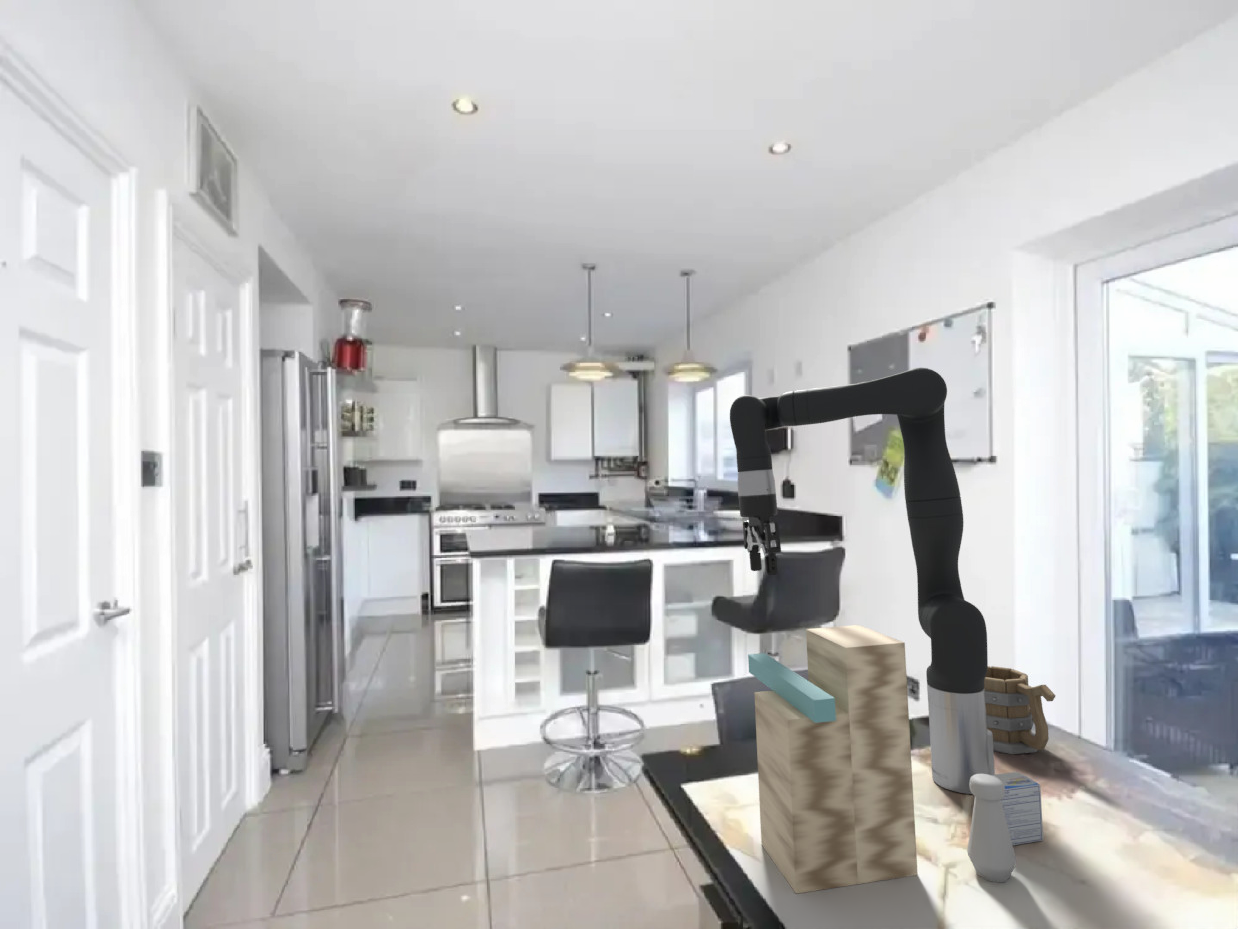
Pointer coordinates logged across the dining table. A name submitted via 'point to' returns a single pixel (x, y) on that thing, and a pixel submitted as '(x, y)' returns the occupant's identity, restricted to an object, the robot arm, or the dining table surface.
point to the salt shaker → (990, 830)
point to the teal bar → (793, 688)
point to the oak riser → (840, 767)
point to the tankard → (1015, 711)
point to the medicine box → (1022, 807)
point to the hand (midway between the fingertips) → (763, 572)
